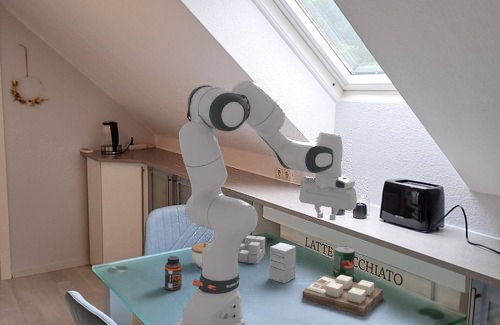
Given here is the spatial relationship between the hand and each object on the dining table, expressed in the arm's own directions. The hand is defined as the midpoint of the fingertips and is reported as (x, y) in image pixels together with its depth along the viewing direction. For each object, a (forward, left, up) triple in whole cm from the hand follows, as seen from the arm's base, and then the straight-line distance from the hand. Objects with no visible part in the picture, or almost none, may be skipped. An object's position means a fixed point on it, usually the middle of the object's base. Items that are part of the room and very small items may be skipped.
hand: (326, 218), depth 169 cm
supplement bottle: (-28, +45, -27) cm, 60 cm away
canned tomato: (+19, 0, -27) cm, 33 cm away
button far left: (+4, -6, -25) cm, 26 cm away
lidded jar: (-4, +50, -27) cm, 58 cm away
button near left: (-4, -6, -25) cm, 26 cm away
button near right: (-4, -14, -25) cm, 29 cm away
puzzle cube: (+14, +42, -28) cm, 52 cm away
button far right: (+4, -14, -24) cm, 29 cm away
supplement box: (+3, +18, -27) cm, 33 cm away
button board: (0, -8, -27) cm, 28 cm away
